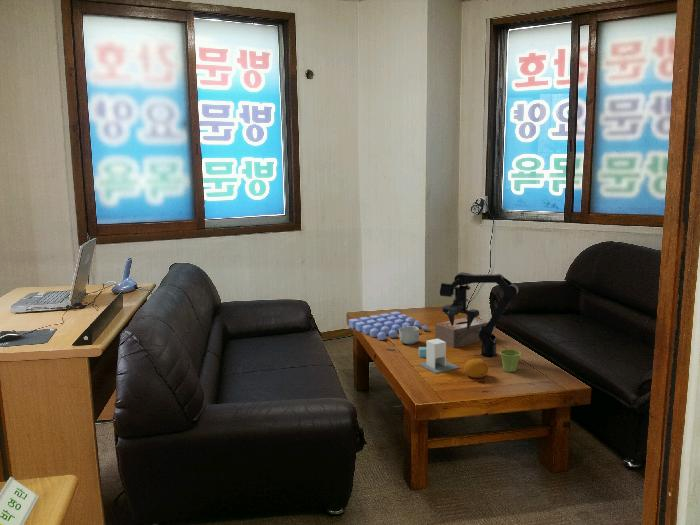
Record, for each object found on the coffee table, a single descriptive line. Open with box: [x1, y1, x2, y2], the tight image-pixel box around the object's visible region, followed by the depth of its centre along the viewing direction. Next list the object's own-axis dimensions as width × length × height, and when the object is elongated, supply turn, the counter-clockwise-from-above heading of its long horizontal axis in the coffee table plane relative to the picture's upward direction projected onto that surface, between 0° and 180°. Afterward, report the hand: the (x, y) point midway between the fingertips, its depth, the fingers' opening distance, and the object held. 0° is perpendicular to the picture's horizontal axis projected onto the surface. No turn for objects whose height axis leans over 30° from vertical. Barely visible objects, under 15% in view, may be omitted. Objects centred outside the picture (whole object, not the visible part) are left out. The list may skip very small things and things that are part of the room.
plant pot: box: [499, 348, 522, 373], centre depth 274 cm, size 9×9×9 cm
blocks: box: [348, 310, 429, 341], centre depth 344 cm, size 35×34×5 cm
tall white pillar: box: [425, 338, 447, 369], centre depth 279 cm, size 7×7×12 cm
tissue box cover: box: [434, 317, 489, 349], centre depth 320 cm, size 26×14×10 cm, turn 123°
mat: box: [418, 360, 461, 374], centre depth 280 cm, size 14×14×1 cm
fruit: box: [463, 358, 489, 379], centre depth 267 cm, size 10×10×8 cm
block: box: [418, 346, 426, 358], centre depth 296 cm, size 4×4×4 cm
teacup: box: [398, 325, 420, 345], centre depth 318 cm, size 14×11×8 cm
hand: (460, 327), depth 299 cm, fingers open, 9 cm apart
